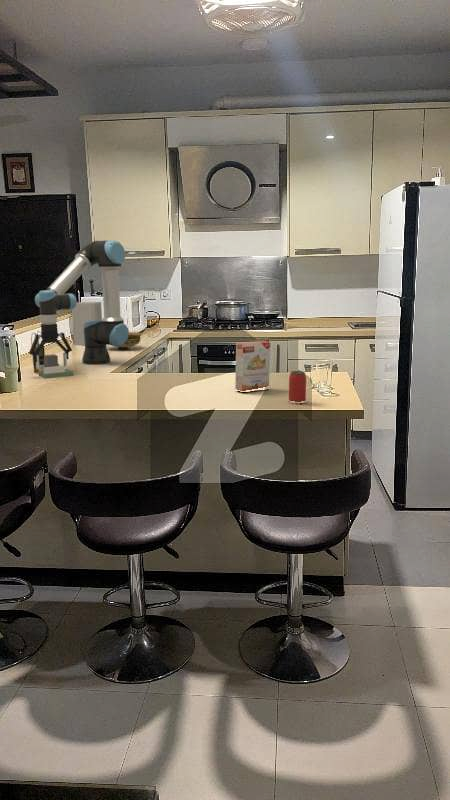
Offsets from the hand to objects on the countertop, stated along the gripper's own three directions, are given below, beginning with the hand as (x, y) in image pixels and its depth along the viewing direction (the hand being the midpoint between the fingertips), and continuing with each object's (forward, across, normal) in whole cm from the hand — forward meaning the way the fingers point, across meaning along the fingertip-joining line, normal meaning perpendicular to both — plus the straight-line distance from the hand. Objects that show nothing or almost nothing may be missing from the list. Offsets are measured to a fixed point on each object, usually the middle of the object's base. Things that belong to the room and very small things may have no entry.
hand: (51, 367), depth 298 cm
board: (+4, -2, 0) cm, 4 cm away
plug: (+2, 0, 0) cm, 2 cm away
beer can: (+4, -60, +112) cm, 127 cm away
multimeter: (+4, -2, -14) cm, 15 cm away
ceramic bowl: (+5, -69, -68) cm, 97 cm away
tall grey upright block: (+5, -60, -100) cm, 117 cm away
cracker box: (+4, -59, +84) cm, 102 cm away
